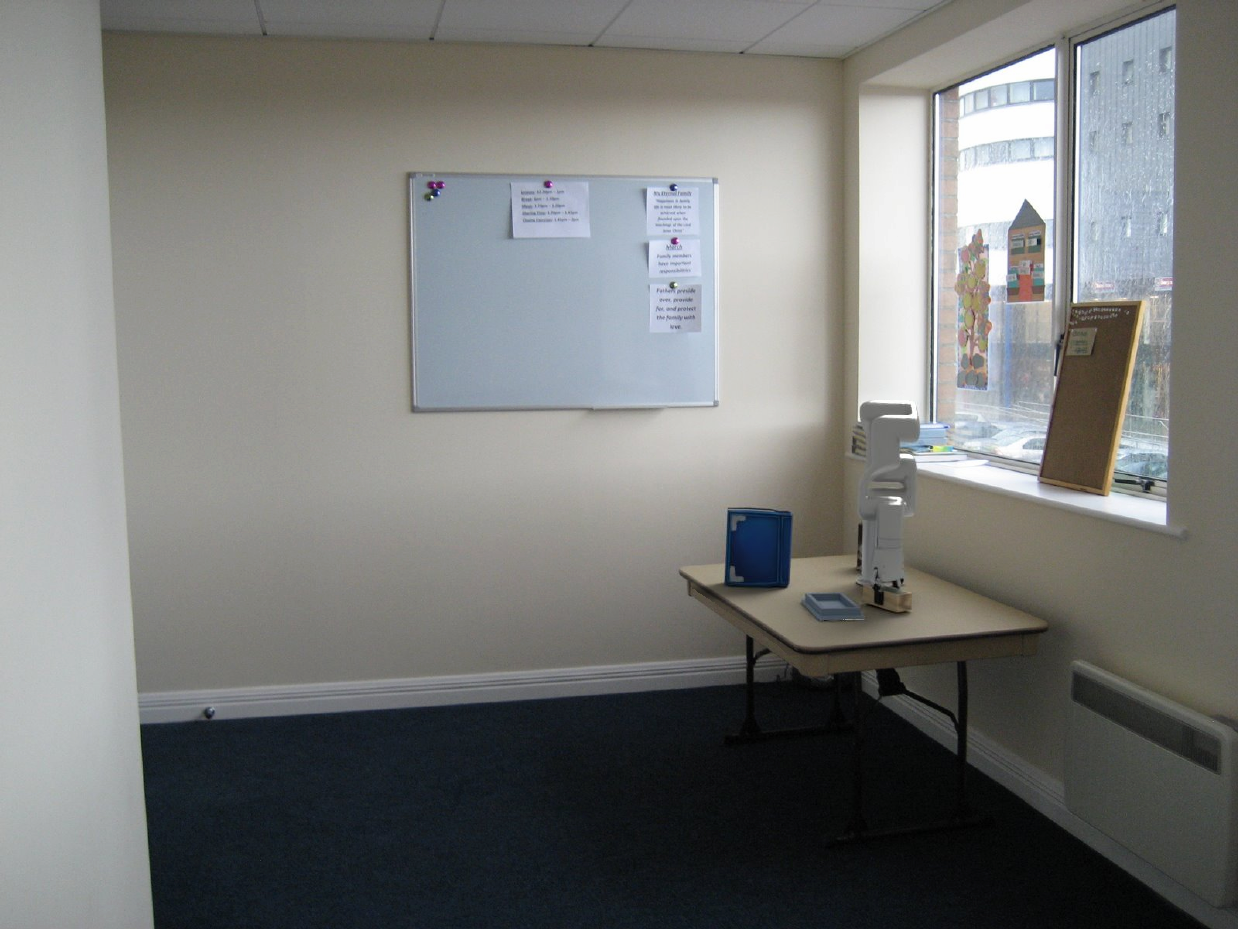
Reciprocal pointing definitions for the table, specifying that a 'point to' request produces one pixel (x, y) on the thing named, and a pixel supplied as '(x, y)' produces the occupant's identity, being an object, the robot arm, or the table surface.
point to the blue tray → (832, 606)
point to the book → (758, 547)
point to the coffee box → (859, 546)
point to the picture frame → (889, 598)
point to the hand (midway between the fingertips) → (886, 602)
